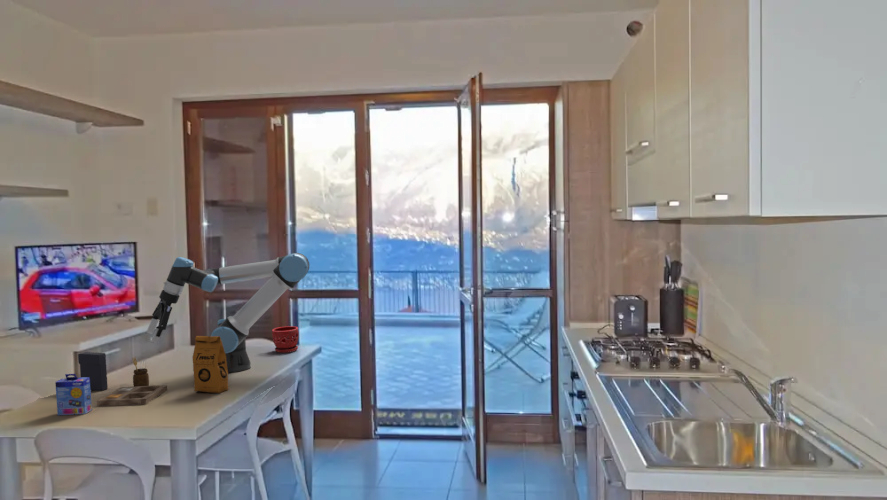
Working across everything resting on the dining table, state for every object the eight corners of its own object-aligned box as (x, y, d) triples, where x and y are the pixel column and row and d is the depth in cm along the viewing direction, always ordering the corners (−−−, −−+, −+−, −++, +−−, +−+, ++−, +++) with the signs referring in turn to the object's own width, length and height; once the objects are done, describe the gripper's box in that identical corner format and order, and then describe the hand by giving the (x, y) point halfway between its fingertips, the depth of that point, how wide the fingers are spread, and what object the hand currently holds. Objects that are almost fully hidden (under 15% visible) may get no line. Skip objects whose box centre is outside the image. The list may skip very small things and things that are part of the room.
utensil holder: (141, 388, 266) (139, 359, 265) (129, 387, 268) (127, 358, 268) (152, 385, 271) (151, 356, 271) (140, 384, 274) (139, 355, 273)
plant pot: (274, 349, 341) (273, 326, 340) (300, 348, 342) (299, 325, 341) (271, 354, 328) (270, 330, 327) (297, 353, 329) (296, 329, 328)
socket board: (167, 390, 262) (167, 384, 262) (146, 404, 242) (146, 397, 242) (122, 391, 262) (122, 386, 262) (97, 406, 242) (96, 399, 242)
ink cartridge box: (56, 416, 230) (53, 375, 230) (64, 411, 236) (61, 371, 235) (85, 414, 231) (83, 373, 231) (92, 409, 237) (90, 370, 236)
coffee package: (217, 395, 252) (215, 338, 251) (190, 393, 256) (187, 337, 255) (233, 388, 262) (230, 333, 261) (206, 387, 265) (203, 333, 264)
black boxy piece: (109, 388, 268) (107, 352, 267) (100, 391, 263) (98, 354, 263) (88, 387, 271) (86, 351, 270) (79, 390, 267) (77, 353, 266)
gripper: (158, 282, 288) (139, 327, 287) (167, 297, 267) (146, 345, 267) (174, 287, 292) (156, 331, 292) (185, 302, 271) (165, 349, 271)
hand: (151, 338), depth 279 cm, fingers open, 13 cm apart
